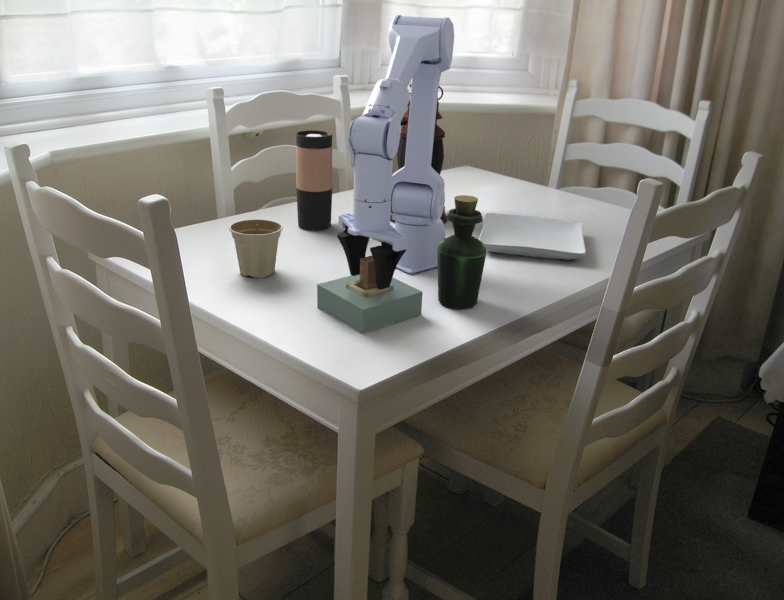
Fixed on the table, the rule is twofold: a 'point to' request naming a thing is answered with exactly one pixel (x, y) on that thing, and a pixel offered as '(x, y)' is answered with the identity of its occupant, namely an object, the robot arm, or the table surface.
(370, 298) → the sage green square pedestal
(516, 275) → the table surface
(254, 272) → the flower pot
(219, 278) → the table surface
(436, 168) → the lantern
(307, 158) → the travel mug
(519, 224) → the salad plate
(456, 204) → the potion bottle
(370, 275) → the brown wooden block
